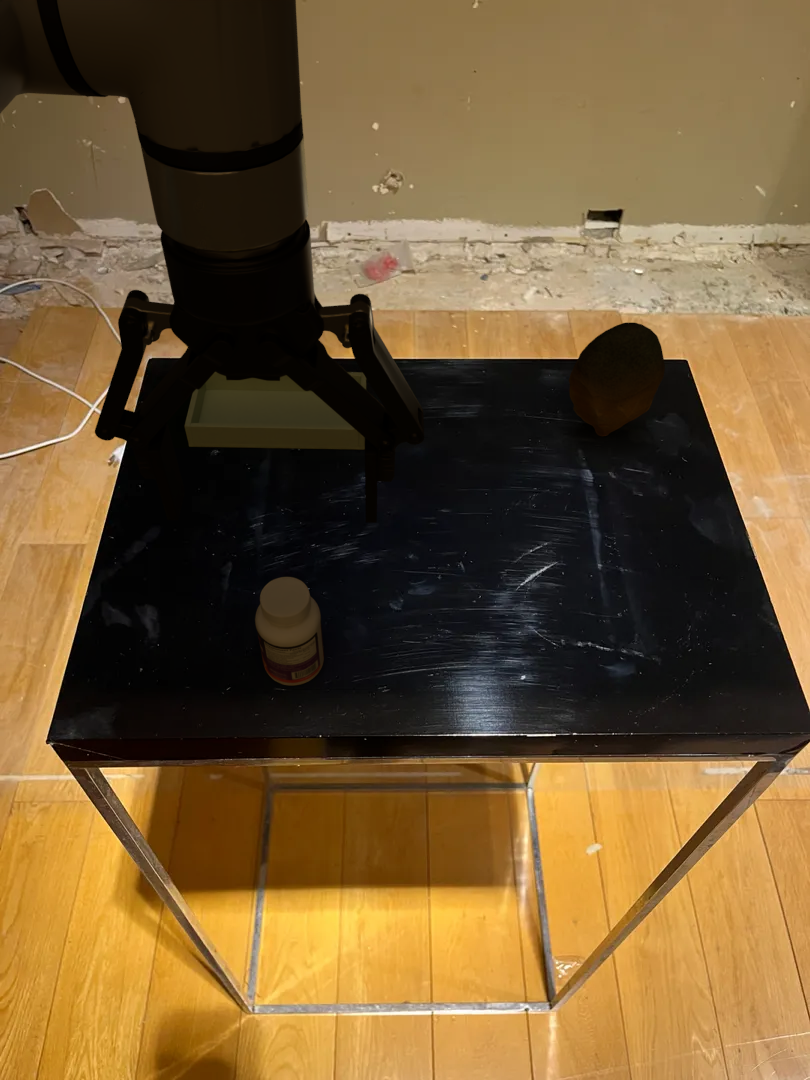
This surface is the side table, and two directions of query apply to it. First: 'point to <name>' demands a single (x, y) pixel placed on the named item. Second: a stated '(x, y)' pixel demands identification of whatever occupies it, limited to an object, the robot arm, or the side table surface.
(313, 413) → the tray
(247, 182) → the robot arm
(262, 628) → the pill bottle
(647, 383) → the decorative stone
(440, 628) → the side table surface
